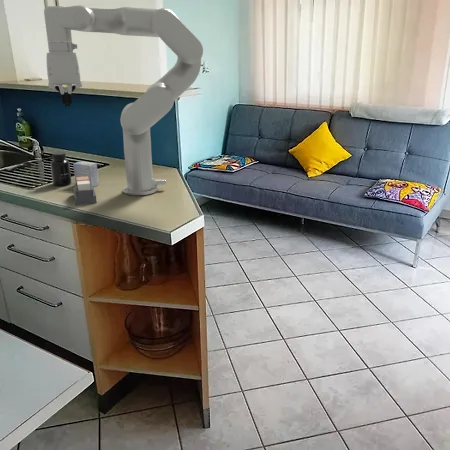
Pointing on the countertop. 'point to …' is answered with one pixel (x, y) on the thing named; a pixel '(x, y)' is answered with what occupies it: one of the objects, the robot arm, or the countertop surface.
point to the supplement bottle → (60, 169)
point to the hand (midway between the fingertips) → (67, 105)
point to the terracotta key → (82, 178)
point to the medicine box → (87, 171)
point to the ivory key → (83, 185)
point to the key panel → (84, 195)
